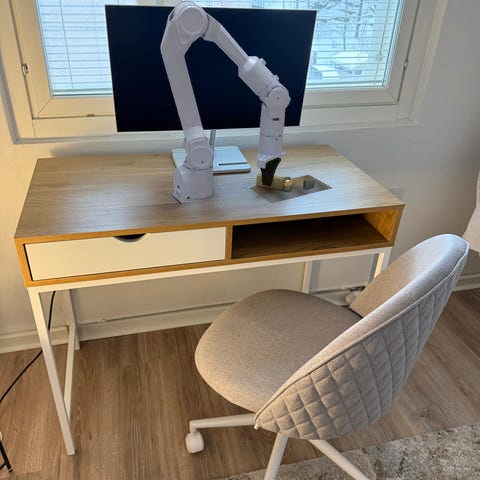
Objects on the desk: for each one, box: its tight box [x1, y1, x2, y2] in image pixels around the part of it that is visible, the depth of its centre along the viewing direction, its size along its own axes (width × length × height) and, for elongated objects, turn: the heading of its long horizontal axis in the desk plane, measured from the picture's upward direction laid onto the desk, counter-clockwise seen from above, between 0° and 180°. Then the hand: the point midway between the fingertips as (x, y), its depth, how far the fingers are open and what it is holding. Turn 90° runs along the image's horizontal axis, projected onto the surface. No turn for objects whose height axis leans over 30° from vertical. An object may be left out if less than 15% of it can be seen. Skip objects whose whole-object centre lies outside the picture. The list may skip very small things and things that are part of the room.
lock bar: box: [255, 173, 293, 191], centre depth 120 cm, size 9×3×3 cm, turn 75°
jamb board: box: [249, 174, 333, 204], centre depth 122 cm, size 20×10×1 cm, turn 122°
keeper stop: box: [303, 177, 315, 190], centre depth 121 cm, size 3×1×2 cm, turn 122°
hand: (267, 184), depth 119 cm, fingers closed, pressing on lock bar
